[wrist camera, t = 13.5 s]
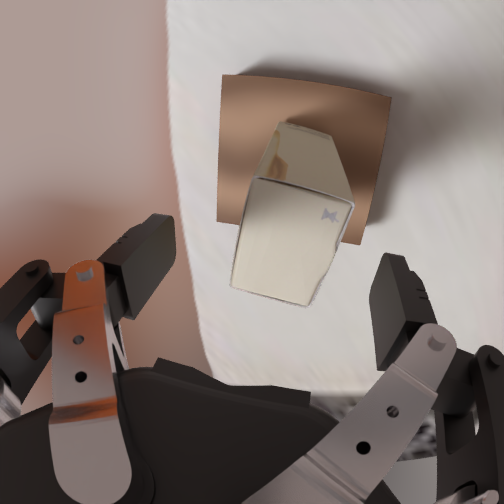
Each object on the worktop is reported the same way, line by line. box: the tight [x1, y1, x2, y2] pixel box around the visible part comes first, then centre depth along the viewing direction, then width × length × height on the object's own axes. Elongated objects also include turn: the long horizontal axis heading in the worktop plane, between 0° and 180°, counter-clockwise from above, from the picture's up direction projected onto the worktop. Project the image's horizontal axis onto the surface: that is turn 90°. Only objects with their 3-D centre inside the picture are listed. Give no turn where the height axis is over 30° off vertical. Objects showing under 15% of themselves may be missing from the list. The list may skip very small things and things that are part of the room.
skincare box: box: [229, 121, 355, 308], centre depth 18 cm, size 6×4×12 cm
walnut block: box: [217, 75, 391, 245], centre depth 24 cm, size 13×13×4 cm
